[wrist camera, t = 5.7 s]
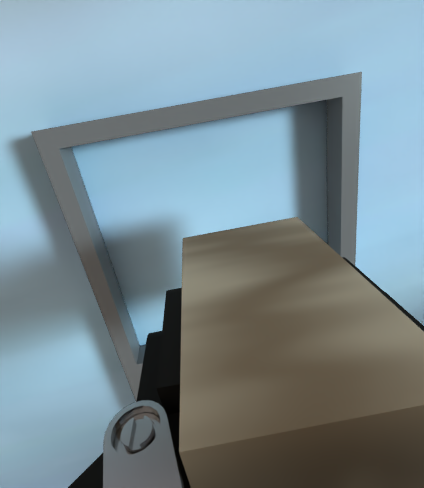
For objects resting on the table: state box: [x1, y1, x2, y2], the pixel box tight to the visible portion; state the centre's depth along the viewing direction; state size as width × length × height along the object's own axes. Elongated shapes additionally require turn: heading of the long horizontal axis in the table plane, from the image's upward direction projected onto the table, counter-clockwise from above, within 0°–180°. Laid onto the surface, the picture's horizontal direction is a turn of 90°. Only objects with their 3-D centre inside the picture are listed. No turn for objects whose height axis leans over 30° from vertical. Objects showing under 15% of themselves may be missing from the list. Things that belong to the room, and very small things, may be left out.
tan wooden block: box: [179, 217, 424, 488], centre depth 9 cm, size 4×4×8 cm
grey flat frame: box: [32, 72, 362, 401], centre depth 19 cm, size 14×34×2 cm, turn 9°
